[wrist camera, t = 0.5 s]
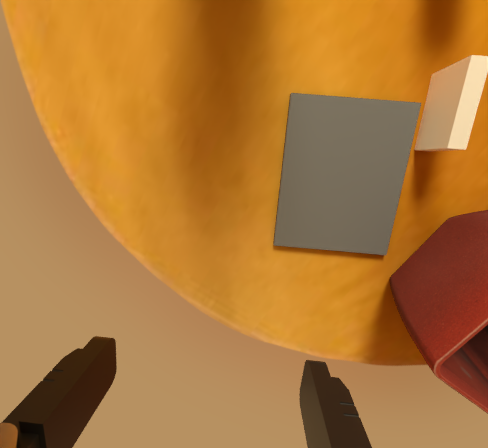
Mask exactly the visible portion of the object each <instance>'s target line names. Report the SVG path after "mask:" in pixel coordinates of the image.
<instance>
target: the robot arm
mask: <svg viewBox="0 0 488 448" xmlns="http://www.w3.org/2000/svg"><path fill="white" fill-rule="evenodd" d="M115 374H116V343H115V339H113V338H106V337H97V336H96V337H93V338H92V339H91V340H90V341H89V342H88V344H87V345H86V346H85V347H84V348H83V349H76V350H74V351H73V352H71V353H70V354H68V355H67V356H65V357H64V358H63V359H62V360H61V361H60V362H59V363H58V364H57V365H56V366H55V367H54V368H53V370H52V371H50V372H49V373H48V374H47V375H46V377H45V378H44V379H43V381H41V382H40V383H39V384H38V385H37V386H36V387H35V388H34V389H33V390H32V391H31V392H30V393H29V395H27V396H26V398H25V399H24V400H23V401H22V402H21V403H20V404H19V405H18V406H17V407H16V408H15V409H14V410H13V411H12V412H11V413H10V415H8V417H7V418H6V419H5V420H4V421H3V422H2V423H0V448H72V447H73V446H74V444H75V442H76V441H77V439H78V437H79V436H80V434H81V433H82V431H83V430H84V428H85V426H86V425H87V423H88V421H89V420H90V418H91V417H92V415H93V414H94V412H95V410H96V409H97V407H98V406H99V404H100V402H101V401H102V399H103V398H104V396H105V394H106V393H107V391H108V390H109V388H110V386H111V385H112V383H113V380H114V378H115ZM300 408H301V413H302V419H303V424H304V430H305V434H306V440H307V446H308V448H372V447H371V444H370V442H369V439H368V437H367V434H366V432H365V429H364V427H363V425H362V422H361V419H360V418H359V415H358V412H357V410H356V407H355V406H354V402H353V400H352V397H351V395H350V392H349V390H348V389H347V388H346V386H345V385H344V384H343V383H342V381H341V380H340V379H339V378H335V377H331V376H330V373H329V371H328V368H327V365H326V363H325V362H320V361H311V360H306V362H305V366H304V371H303V376H302V382H301V387H300Z"/></svg>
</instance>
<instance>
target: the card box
mask: <svg viewBox="0 0 488 448" xmlns="http://www.w3.org/2000/svg"><path fill="white" fill-rule="evenodd" d="M487 72H488V56H477V55H471V56H469V57H467V58H465V59H463V60H460V61H458V62H456V63H454V64H452V65H450V66H448V67H446V68H444V69H442V70H440V71H438V72H436V73H434V74H432V77H431V81H430V86H429V90H428V94H427V98H426V103H425V107H424V111H423V116H422V120H421V124H420V128H419V133H418V137H417V141H416V146H415V150H418V151H448V150H466V147H467V144H468V140H469V137H470V133H471V130H472V126H473V122H474V119H475V115H476V112H477V108H478V104H479V101H480V97H481V94H482V90H483V87H484V83H485V79H486V76H487Z"/></svg>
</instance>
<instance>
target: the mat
mask: <svg viewBox="0 0 488 448" xmlns="http://www.w3.org/2000/svg"><path fill="white" fill-rule="evenodd" d="M420 106H421V103H415V102H402V101H389V100H376V99H363V98H350V97H337V96H324V95H311V94H298V93H291V94H290V102H289V111H288V119H287V128H286V137H285V146H284V155H283V164H282V173H281V181H280V190H279V199H278V208H277V217H276V226H275V235H274V243H273V244H274V245H276V246H287V247H299V248H310V249H321V250H333V251H344V252H356V253H367V254H379V255H386V254H387V250H388V245H389V241H390V237H391V232H392V228H393V224H394V219H395V215H396V210H397V206H398V202H399V197H400V193H401V189H402V184H403V180H404V176H405V171H406V167H407V163H408V158H409V154H410V150H411V145H412V141H413V137H414V132H415V128H416V123H417V119H418V115H419V110H420Z"/></svg>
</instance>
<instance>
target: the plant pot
mask: <svg viewBox="0 0 488 448" xmlns="http://www.w3.org/2000/svg"><path fill="white" fill-rule="evenodd" d="M390 286H391V290H392V294H393V298H394V301H395V304H396V306H397V309H398V311H399V314H400V316H401V318H402V320H403V322H404V324H405V326H406V328H407V330H408V332H409V334H410V336H411V337H412V339H413V341H414V343H415V344H416V346H417V348H418V349H419V351H420V352H421V354H422V356H423V357H424V359H425V361H426V362H427V364H428V365H429V367H430V368H431V370H432V371H433V373H434V374H435V375H436V376H437V377H438V378H439V379H441V380H442V381H443V382H445V383H446V384H447V385H449V386H450V387H451V388H453V389H454V390H456V391H457V392H458V393H460V394H461V395H463V396H464V397H465V398H467V399H468V400H470V401H471V402H472V403H474V404H475V405H477V406H478V407H479V408H481V409H482V410H483V411H485V412H486V413H488V210H485V211H479V212H473V213H468V214H463V215H458V216H455V217H451V218H449V219H448V220H446V221H445V222H444V223H443V224H442V225H441V226H440V227H439V228H438V230H437V231H436V232H435V233H434V234H432V235H431V237H430V238H429V239H428V240H427V241H426V242H425V243H424V244H423V245H422V246H421V247H420V248H419V249H418V250H417V251H416V252H415V253H414V254H413V255H412V256H411V257H410V258H409V259H408V260H407V261H406V262H405V263H404V264H403V265H402V266H401V267H400V268H399V269H398V270H397V271H396V272H395V273H394V274H393V275H392V276H391V277H390Z"/></svg>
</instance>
